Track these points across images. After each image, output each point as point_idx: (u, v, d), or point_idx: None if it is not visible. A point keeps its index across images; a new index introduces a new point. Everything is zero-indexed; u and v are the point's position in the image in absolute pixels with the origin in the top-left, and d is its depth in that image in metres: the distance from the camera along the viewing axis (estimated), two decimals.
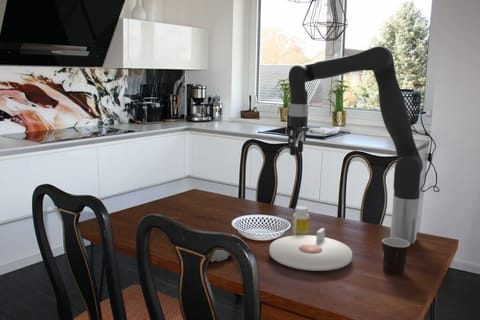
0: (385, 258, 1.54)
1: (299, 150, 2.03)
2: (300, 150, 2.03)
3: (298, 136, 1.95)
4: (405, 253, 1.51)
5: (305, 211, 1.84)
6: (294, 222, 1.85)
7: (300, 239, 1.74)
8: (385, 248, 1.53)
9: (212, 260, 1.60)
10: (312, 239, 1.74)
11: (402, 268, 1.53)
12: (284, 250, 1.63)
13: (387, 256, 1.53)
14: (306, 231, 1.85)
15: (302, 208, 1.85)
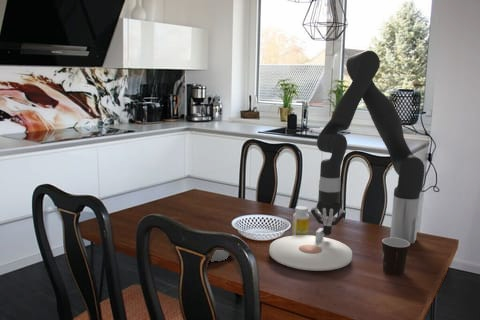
0: (385, 258, 1.54)
1: None
2: None
3: None
4: (405, 253, 1.51)
5: (305, 211, 1.84)
6: (294, 222, 1.85)
7: (299, 239, 1.74)
8: (385, 248, 1.53)
9: (212, 260, 1.60)
10: (311, 239, 1.74)
11: (402, 268, 1.53)
12: (284, 250, 1.63)
13: (387, 256, 1.53)
14: (306, 231, 1.85)
15: (302, 208, 1.85)
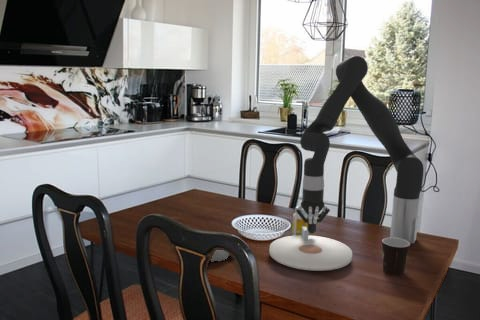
0: (385, 258, 1.54)
1: None
2: None
3: None
4: (405, 253, 1.51)
5: None
6: (294, 222, 1.85)
7: (288, 241, 1.72)
8: (385, 248, 1.53)
9: (212, 260, 1.60)
10: (298, 239, 1.73)
11: (402, 268, 1.53)
12: (290, 255, 1.59)
13: (387, 256, 1.53)
14: None
15: (302, 208, 1.85)
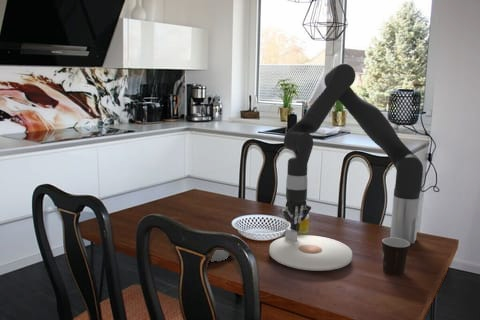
0: (385, 258, 1.54)
1: None
2: None
3: None
4: (405, 253, 1.51)
5: None
6: None
7: (282, 245, 1.68)
8: (385, 248, 1.53)
9: (212, 260, 1.60)
10: (288, 242, 1.71)
11: (402, 268, 1.53)
12: (303, 258, 1.56)
13: (387, 256, 1.53)
14: (306, 231, 1.85)
15: None
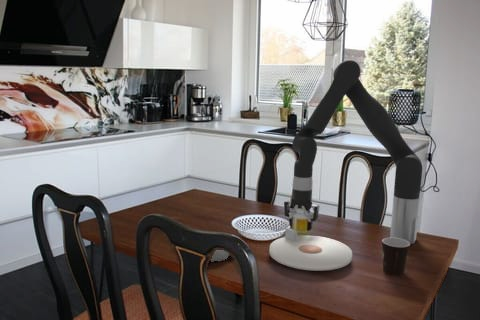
0: (385, 258, 1.54)
1: None
2: None
3: (309, 209, 1.86)
4: (405, 253, 1.51)
5: None
6: (294, 222, 1.85)
7: (282, 245, 1.68)
8: (385, 248, 1.53)
9: (212, 260, 1.60)
10: (288, 242, 1.71)
11: (402, 268, 1.53)
12: (303, 258, 1.56)
13: (387, 256, 1.53)
14: (306, 231, 1.85)
15: None
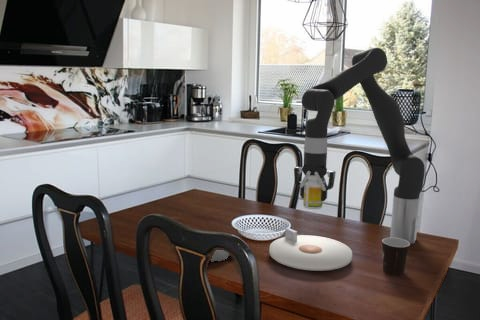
0: (385, 258, 1.54)
1: None
2: None
3: (323, 176, 1.60)
4: (405, 253, 1.51)
5: None
6: (306, 191, 1.59)
7: (282, 245, 1.68)
8: (385, 248, 1.53)
9: (212, 260, 1.60)
10: (288, 242, 1.71)
11: (402, 268, 1.53)
12: (303, 258, 1.56)
13: (387, 256, 1.53)
14: (320, 201, 1.59)
15: None
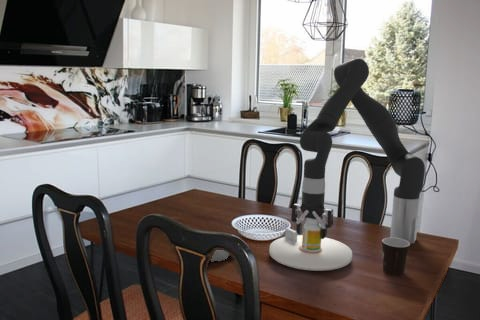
0: (385, 258, 1.54)
1: (300, 232, 1.65)
2: (301, 231, 1.66)
3: (322, 214, 1.62)
4: (405, 253, 1.51)
5: (317, 221, 1.61)
6: (305, 234, 1.62)
7: (282, 245, 1.68)
8: (385, 248, 1.53)
9: (212, 260, 1.60)
10: (288, 242, 1.71)
11: (402, 268, 1.53)
12: (303, 258, 1.56)
13: (387, 256, 1.53)
14: (318, 244, 1.62)
15: None
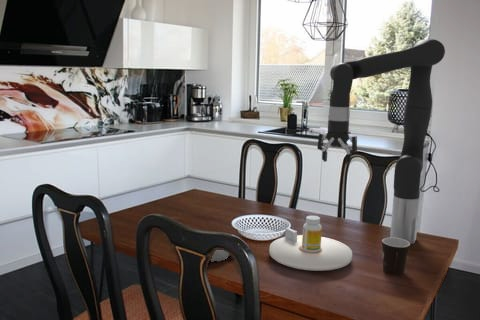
0: (385, 258, 1.54)
1: (325, 159, 1.80)
2: (326, 159, 1.80)
3: (346, 142, 1.77)
4: (405, 253, 1.51)
5: (317, 221, 1.61)
6: (304, 234, 1.62)
7: (282, 245, 1.68)
8: (385, 248, 1.53)
9: (212, 260, 1.60)
10: (288, 242, 1.71)
11: (402, 268, 1.53)
12: (303, 258, 1.56)
13: (387, 256, 1.53)
14: (318, 244, 1.62)
15: (314, 218, 1.62)
